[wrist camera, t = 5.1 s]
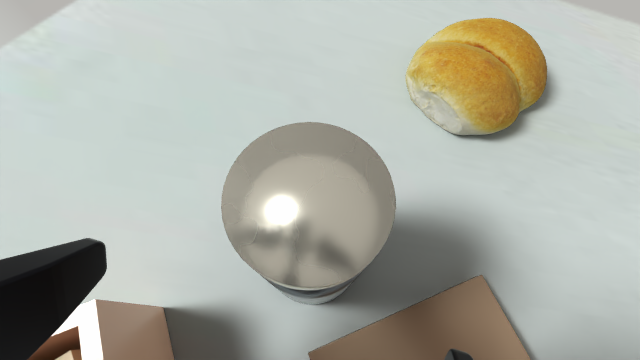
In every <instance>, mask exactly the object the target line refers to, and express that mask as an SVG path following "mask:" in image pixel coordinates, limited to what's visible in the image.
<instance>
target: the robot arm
mask: <svg viewBox="0 0 640 360" xmlns="http://www.w3.org/2000/svg"><path fill="white" fill-rule="evenodd" d="M106 269H107V261H106V247H105V245H104V243H103V242H101V241H98V240H94V239H91V238H86V239H82V240H78V241H74V242H70V243H66V244H62V245H58V246H54V247H50V248H46V249H42V250H38V251H34V252H30V253H26V254H22V255H18V256H14V257H10V258H6V259H2V260H0V360H28V359H29V358H30V357H31V356H32V355H33V354H34V353H35V352H36V351H37V350H38V349H39V348H40V347H41V346H42V345H43V344H44V343H45V342H46V341H47V340H48V339H49V338H50V337H51V336H52V335H53V334H54V333H55V332H56V331H57V330H58V329H59V328H60V327H61V325H62V324H63V323H64V322H65V321H66V320H67V319H68V318H69V316H70V315H71V314H72V313H73V312H74V310H75V309H76V308H77V307H78V306H79V305H80V303H81V302H82V301H83V300H84V299H85V297H86V296H87V295H88V294H89V293H90V292H91V290H92V289H93V288H94V287H95V286H96V284H97V283H98V282H99V281H100V280H101V279H102V277H103V276H104V274H105V272H106ZM444 360H474V359H473V358H472V357H471V355H470V354H468V353H467V352H463V351H460V350H457V349H450V350H449V351H448V353H447V355H446V357H445V359H444Z"/></svg>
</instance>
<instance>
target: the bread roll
mask: <svg viewBox="0 0 640 360" xmlns="http://www.w3.org/2000/svg"><path fill="white" fill-rule="evenodd" d="M546 79H547V66H546V60H545V57H544V55H543V53H542V51H541V49H540V47H539V45H538V43H537V42H536V41H535V40H534V39H533V37H532V36H531V35H530V34H528V33H527V32H526V31H525V30H523V29H522V28H520V27H519V26H517V25H515V24H513V23H510V22H508V21H505V20H501V19H495V18H481V19H471V20H464V21H460V22H457V23H454V24H452V25H450V26H448V27H446V28H444V29H443V30H441V31H439V32H438V33H436V34H435V35H434V36H433V37H431V38H430V39H429V40H428V41H427V42H426V43H425V44H423V45H422V46H421V47H420V48H419V49H418V50H417V51H416V53H415V55H414V56H413V58H412V60H411V61H410V63H409V66H408V68H407V72H406V84H407V88H408V91H409V94H410V97H411V100H412V101H413V102H414V103H415V104H416V105H417V106H418V107H419V108H420V109H421V110H422V111H423V113H424V114H425V115H426V116H427V117H428V118H429V119H430V120H432V121H433V122H434V123H436V124H437V125H439V126H440V127H442V128H443V129H445V130H446V131H448V132H451V133H453V134H457V135H484V134H492V133H495V132H498V131H500V130H503V129H505V128H507V127H509V126H510V125H511V124H512V123H513V122H514V121H515V120H516V118H517V117H518V114H519V112H521V111H522V110H524V109H526V108H528V107H530V106H531V105H532V104H534V103H535V102H537V100H538V99H539V98H540V97H541V95H542V93H543V91H544V88H545V85H546Z"/></svg>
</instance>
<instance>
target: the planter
mask: <svg viewBox="0 0 640 360" xmlns="http://www.w3.org/2000/svg"><path fill="white" fill-rule="evenodd" d="M78 349H81V354H82V360H174V356H173V351H172V346H171V341H170V337H169V332H168V327H167V322H166V317H165V313H164V308H163V307H157V306H149V305H140V304H131V303H123V302H114V301H105V300H96V299H95V300H92V301H90V302H87V303H85V304H82V305H79V306H78V307H77V308H76V309H75V310H74V312H73V313H72V314H71V315H70V316H69V318H68V319H67V320H66V321H65V322H64V323H63V324H62V325H61V327H60V328H59V329H58V330H57V331H56V332H55V333H54V334H53V335H52V336H51V337H50V338H49V339H48V340H47V341H46V342H45V343H44V344H43V345H42V346H41V347H40V348H39V349H38V350H37V351H36V352H35V353H34V354H33V355H32V356H31V357H30V358H29V359H28V360H55V359H57V358H59V357H60V356H62V355H64V354H65V353H67V352H69V351H70V350H78Z"/></svg>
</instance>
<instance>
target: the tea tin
mask: <svg viewBox="0 0 640 360" xmlns="http://www.w3.org/2000/svg"><path fill="white" fill-rule="evenodd" d="M221 209H222V219H223V223H224V227H225V230H226V233H227V235H228V238H229V240H230V242H231V244H232V245H233V247H234V249H235V250H236V252H237V253H238V254H239V255H240V257H241V258H242V259H243V260H244V261H245V262H246V263H247V264H248V265H249V266H250V267H251V268H253V269H254V270H255V271H256V272H257V273H259V274H260V275H261V276H262V277H263V278H265V279H266V280H267V281H268V282H270V283H271V284H272V285H273V286H274V287H276V288H277V289H278V290H279V291H280V292H282V293H283V294H284V295H285V296H287V297H288V298H290V299H292V300H294V301H297V302H299V303H304V304H321V303H325V302H328V301H331V300H333V299H334V298H336V297H338V296H339V295H340V294H342V293H343V292H344V291H345V290H346V289H347V288H348V287H349V286H350V284H351V283H352V282H353V281H354V280H355V279H356V278H357V277H358V276H359V275H360V274H361V272H362V271H363V270H364V269H365V268H366V267H367V266H368V265H369V264H370V263H371V261H372V260H373V259H374V258H375V257H376V256H377V254H378V253H379V252H380V251H381V249H382V248H383V246H384V244H385V243H386V241H387V239H388V237H389V234H390V232H391V229H392V226H393V222H394V218H395V209H396V198H395V191H394V185H393V182H392V179H391V176H390V173H389V171H388V169H387V167H386V165H385V164H384V162H383V160H382V159H381V157H380V156H379V155H378V154H377V153H376V151H375V150H374V149H373V148H372V147H371V146H370V145H369V144H368V143H367V142H365V141H364V140H362V139H361V138H360V137H358V136H357V135H355V134H353V133H351V132H350V131H347V130H345V129H343V128H340V127H337V126H333V125H330V124H324V123H315V122H304V123H295V124H289V125H285V126H282V127H279V128H276V129H274V130H271V131H269V132H267V133H265V134H264V135H262V136H260V137H259V138H257V139H256V140H255V141H253V142H252V143H251V144H250V145H249V146H248V147H246V148H245V149H244V150H243V152H242V153H241V154H240V155H239V156H238V158H237V159H236V161H235V162H234V164H233V165H232V167H231V169H230V171H229V173H228V175H227V178H226V181H225V184H224V187H223V193H222V204H221Z"/></svg>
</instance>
